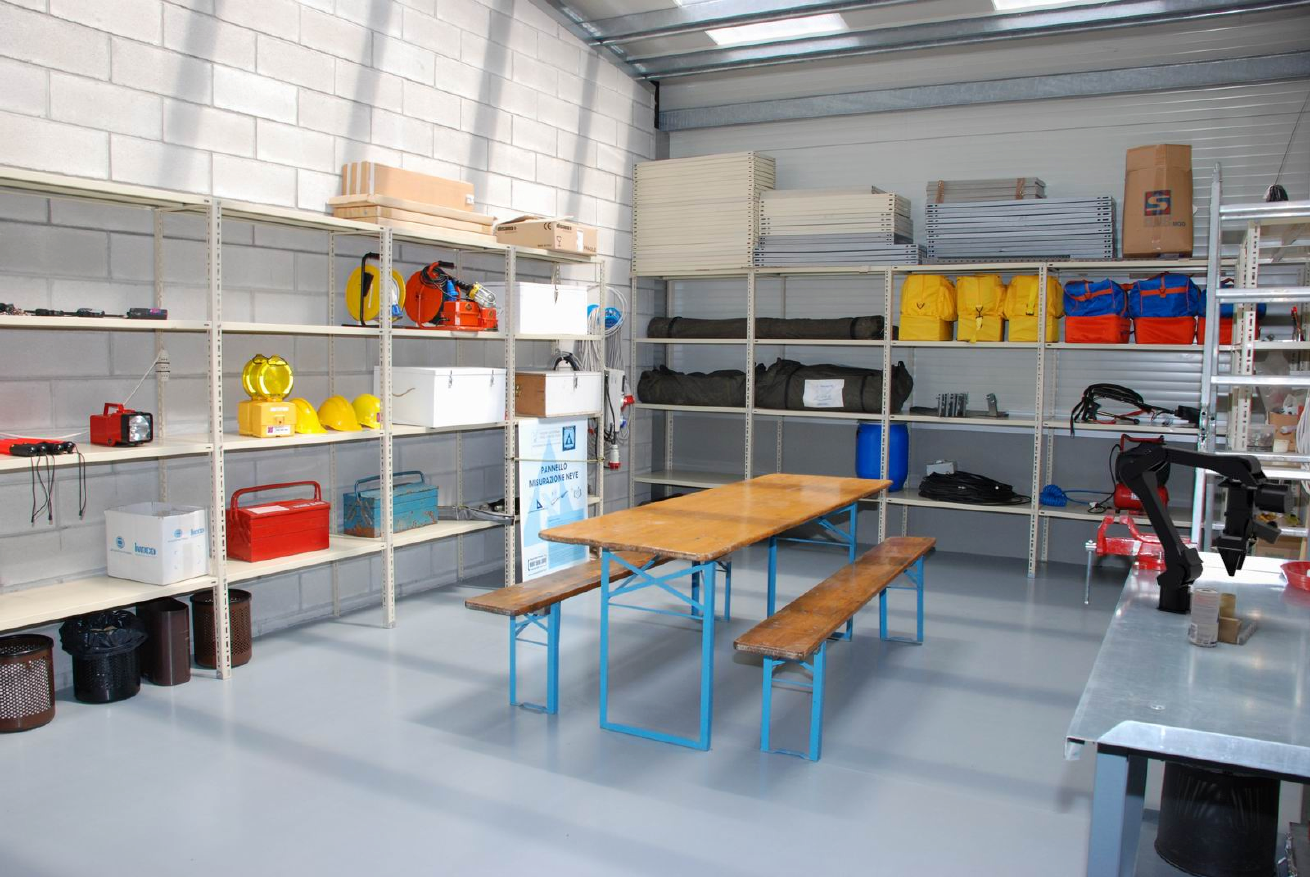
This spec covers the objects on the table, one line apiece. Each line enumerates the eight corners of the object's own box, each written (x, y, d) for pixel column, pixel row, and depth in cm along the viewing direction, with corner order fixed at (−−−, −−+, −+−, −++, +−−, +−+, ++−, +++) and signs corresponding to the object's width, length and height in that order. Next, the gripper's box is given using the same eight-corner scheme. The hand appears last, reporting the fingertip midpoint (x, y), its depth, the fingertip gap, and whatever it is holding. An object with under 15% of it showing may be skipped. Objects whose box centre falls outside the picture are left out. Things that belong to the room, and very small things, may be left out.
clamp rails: (1188, 635, 222) (1188, 628, 221) (1205, 618, 236) (1206, 612, 236) (1242, 645, 215) (1243, 638, 215) (1257, 627, 229) (1257, 620, 229)
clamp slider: (1194, 636, 220) (1197, 602, 219) (1207, 622, 231) (1210, 590, 231) (1235, 643, 215) (1238, 608, 214) (1246, 629, 226) (1249, 596, 225)
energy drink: (1215, 642, 217) (1219, 589, 215) (1218, 648, 212) (1222, 594, 211) (1188, 638, 219) (1192, 586, 218) (1190, 645, 214) (1194, 591, 213)
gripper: (1274, 517, 218) (1268, 586, 219) (1286, 507, 232) (1280, 572, 233) (1217, 511, 225) (1212, 577, 226) (1232, 502, 239) (1227, 564, 241)
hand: (1235, 573), depth 231 cm, fingers open, 9 cm apart
